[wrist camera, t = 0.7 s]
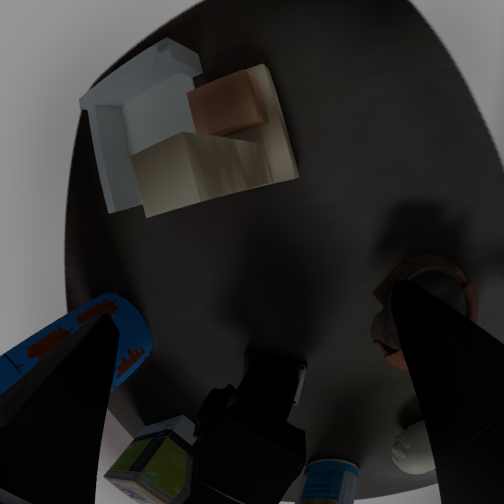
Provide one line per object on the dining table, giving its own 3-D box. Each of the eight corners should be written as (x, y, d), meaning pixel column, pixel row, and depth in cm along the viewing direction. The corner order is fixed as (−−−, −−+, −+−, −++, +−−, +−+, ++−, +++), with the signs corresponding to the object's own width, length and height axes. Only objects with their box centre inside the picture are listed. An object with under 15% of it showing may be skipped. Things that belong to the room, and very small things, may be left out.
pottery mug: (343, 328, 25) (345, 332, 17) (398, 246, 25) (419, 217, 17) (433, 395, 20) (465, 420, 12) (484, 314, 20) (528, 308, 13)
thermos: (87, 307, 36) (-40, 391, 14) (116, 277, 32) (-53, 381, 9) (129, 366, 37) (17, 468, 15) (168, 349, 32) (26, 487, 10)
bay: (229, 175, 23) (200, 179, 19) (135, 206, 28) (101, 216, 23) (198, 54, 21) (166, 37, 16) (113, 102, 25) (79, 99, 20)
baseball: (401, 408, 24) (403, 455, 18) (454, 408, 22) (463, 451, 16) (383, 441, 27) (381, 483, 21) (432, 441, 24) (435, 480, 18)
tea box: (181, 457, 43) (144, 509, 30) (144, 424, 43) (99, 475, 30) (229, 450, 36) (189, 520, 23) (184, 411, 36) (129, 481, 23)
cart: (301, 176, 21) (239, 194, 10) (232, 193, 24) (123, 227, 12) (272, 73, 19) (188, -2, 8) (207, 96, 22) (92, 62, 10)
